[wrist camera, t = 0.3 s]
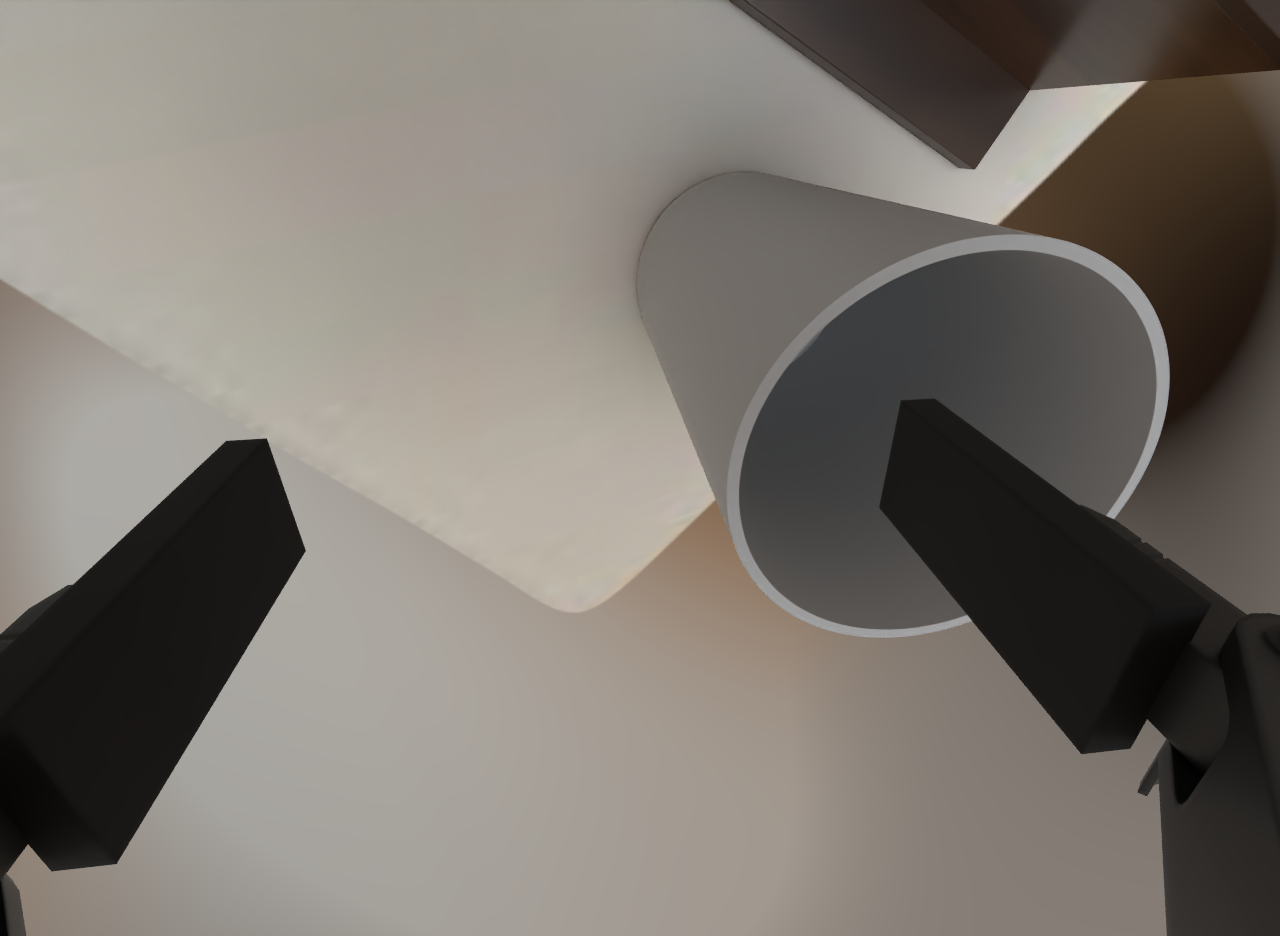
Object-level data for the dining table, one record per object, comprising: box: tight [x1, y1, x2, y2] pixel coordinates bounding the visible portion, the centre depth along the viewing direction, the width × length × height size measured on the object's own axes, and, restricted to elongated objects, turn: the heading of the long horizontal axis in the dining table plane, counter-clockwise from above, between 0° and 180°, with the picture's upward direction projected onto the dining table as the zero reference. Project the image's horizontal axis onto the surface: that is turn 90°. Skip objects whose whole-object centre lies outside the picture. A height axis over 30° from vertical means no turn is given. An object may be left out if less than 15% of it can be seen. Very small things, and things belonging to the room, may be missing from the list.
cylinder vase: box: [637, 172, 1169, 638], centre depth 28 cm, size 12×12×25 cm
